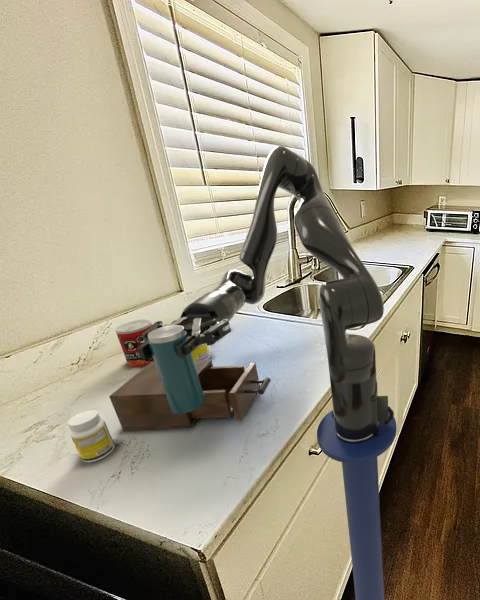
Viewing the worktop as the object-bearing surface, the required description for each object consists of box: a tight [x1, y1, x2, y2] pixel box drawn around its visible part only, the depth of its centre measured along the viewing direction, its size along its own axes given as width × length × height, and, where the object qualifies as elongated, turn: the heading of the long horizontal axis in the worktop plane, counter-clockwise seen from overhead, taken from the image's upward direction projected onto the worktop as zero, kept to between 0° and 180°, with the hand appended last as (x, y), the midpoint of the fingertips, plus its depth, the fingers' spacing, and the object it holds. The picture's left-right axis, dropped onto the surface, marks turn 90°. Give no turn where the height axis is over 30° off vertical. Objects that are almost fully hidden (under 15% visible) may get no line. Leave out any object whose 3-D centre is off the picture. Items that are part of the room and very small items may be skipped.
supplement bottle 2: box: [178, 317, 211, 360], centre depth 90 cm, size 7×7×13 cm
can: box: [148, 325, 205, 414], centre depth 57 cm, size 5×5×15 cm
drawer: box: [189, 362, 271, 421], centre depth 72 cm, size 17×11×7 cm
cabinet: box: [108, 359, 214, 432], centre depth 71 cm, size 14×13×9 cm
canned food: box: [115, 319, 155, 368], centre depth 90 cm, size 8×8×11 cm
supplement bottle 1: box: [67, 409, 116, 463], centre depth 60 cm, size 5×5×8 cm
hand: (161, 353), depth 53 cm, fingers closed on can, 5 cm apart
